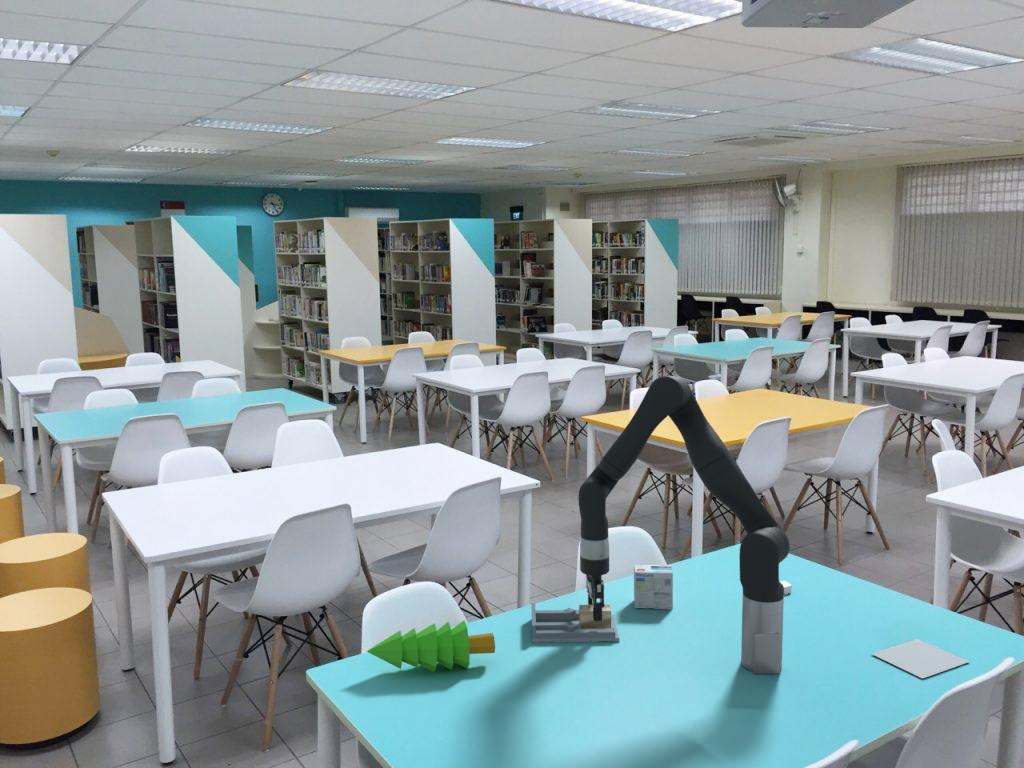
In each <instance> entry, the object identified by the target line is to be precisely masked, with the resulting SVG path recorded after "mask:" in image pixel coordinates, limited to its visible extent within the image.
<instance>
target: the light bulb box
mask: <svg viewBox="0 0 1024 768" xmlns="http://www.w3.org/2000/svg"><path fill="white" fill-rule="evenodd" d="M673 575H674V574H673V569H672V565H671V564H634V563H633V596H634V597H633V599H634V600H633V603H634V609H635V608H655V609H654V610H673V609H674V591H673V590H674V576H673Z"/></svg>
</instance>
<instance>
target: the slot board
mask: <svg viewBox="0 0 1024 768" xmlns="http://www.w3.org/2000/svg"><path fill="white" fill-rule="evenodd" d="M531 636H532V637H531V640H532V641H531V642H532V643H599V642H598V641H617V642H618V643H619V642H620V635H619V631H618V627H617V624H616V620H615V616H614V614H611V628H585V629H580V624H579V609H573V608H571V607H567V608H565V609H560V610H559V609H558V610H556V609H555V610H552V609H549V610H547V609H546V610H544V609H543V610H542V609H541V610H538V609H537V610H536V603H534V602H533V603H531ZM590 641H591V642H590ZM594 641H595V642H594ZM617 642H616V643H617Z"/></svg>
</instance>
